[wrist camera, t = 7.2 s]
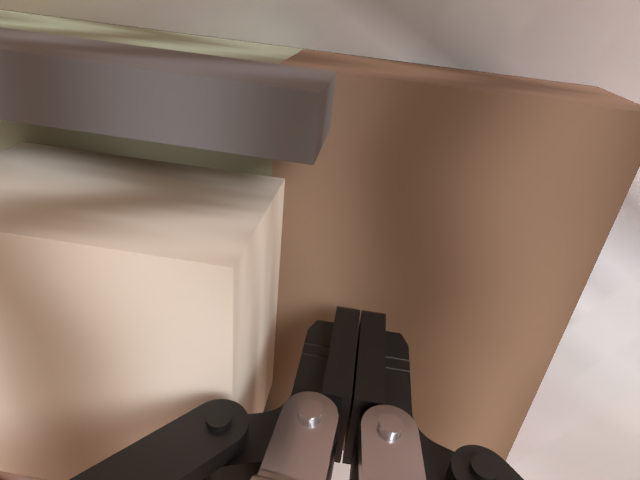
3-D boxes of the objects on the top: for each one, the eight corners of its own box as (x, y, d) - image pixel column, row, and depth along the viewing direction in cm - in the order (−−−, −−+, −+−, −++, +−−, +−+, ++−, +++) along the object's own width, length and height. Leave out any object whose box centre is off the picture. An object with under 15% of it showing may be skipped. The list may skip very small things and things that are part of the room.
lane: (597, 86, 15) (747, 150, 9) (479, 399, 21) (516, 562, 15) (-328, -33, 17) (-737, -51, 11) (-174, 284, 24) (-374, 385, 17)
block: (285, 178, 13) (233, 267, 9) (272, 382, 17) (231, 516, 13) (22, 142, 14) (-148, 209, 9) (66, 347, 18) (-41, 463, 13)
